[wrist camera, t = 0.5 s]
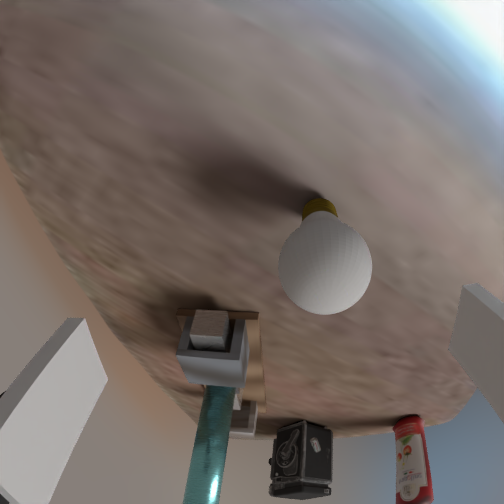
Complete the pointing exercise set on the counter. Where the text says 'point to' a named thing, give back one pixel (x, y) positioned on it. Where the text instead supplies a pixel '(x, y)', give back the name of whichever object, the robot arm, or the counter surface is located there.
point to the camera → (301, 462)
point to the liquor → (412, 463)
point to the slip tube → (211, 413)
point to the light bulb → (324, 261)
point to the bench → (253, 360)
